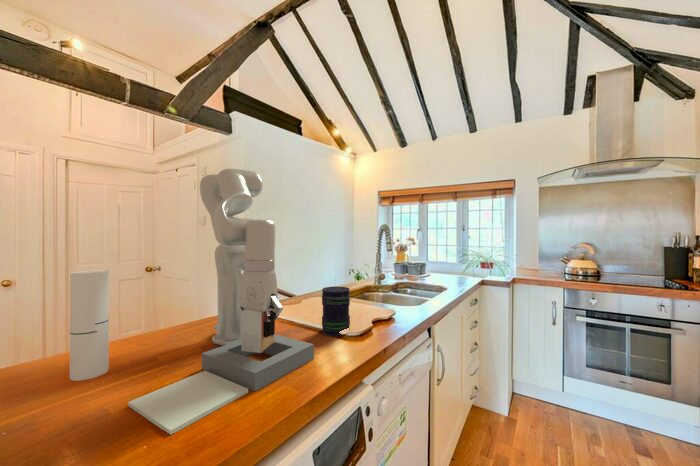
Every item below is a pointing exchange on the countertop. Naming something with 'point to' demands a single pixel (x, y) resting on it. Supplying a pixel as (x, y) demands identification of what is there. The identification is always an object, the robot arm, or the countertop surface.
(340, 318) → the storage jar
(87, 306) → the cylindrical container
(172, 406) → the sage tile
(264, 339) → the small box
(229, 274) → the robot arm
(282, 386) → the countertop surface
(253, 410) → the countertop surface
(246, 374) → the pocket block
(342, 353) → the countertop surface
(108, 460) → the countertop surface
